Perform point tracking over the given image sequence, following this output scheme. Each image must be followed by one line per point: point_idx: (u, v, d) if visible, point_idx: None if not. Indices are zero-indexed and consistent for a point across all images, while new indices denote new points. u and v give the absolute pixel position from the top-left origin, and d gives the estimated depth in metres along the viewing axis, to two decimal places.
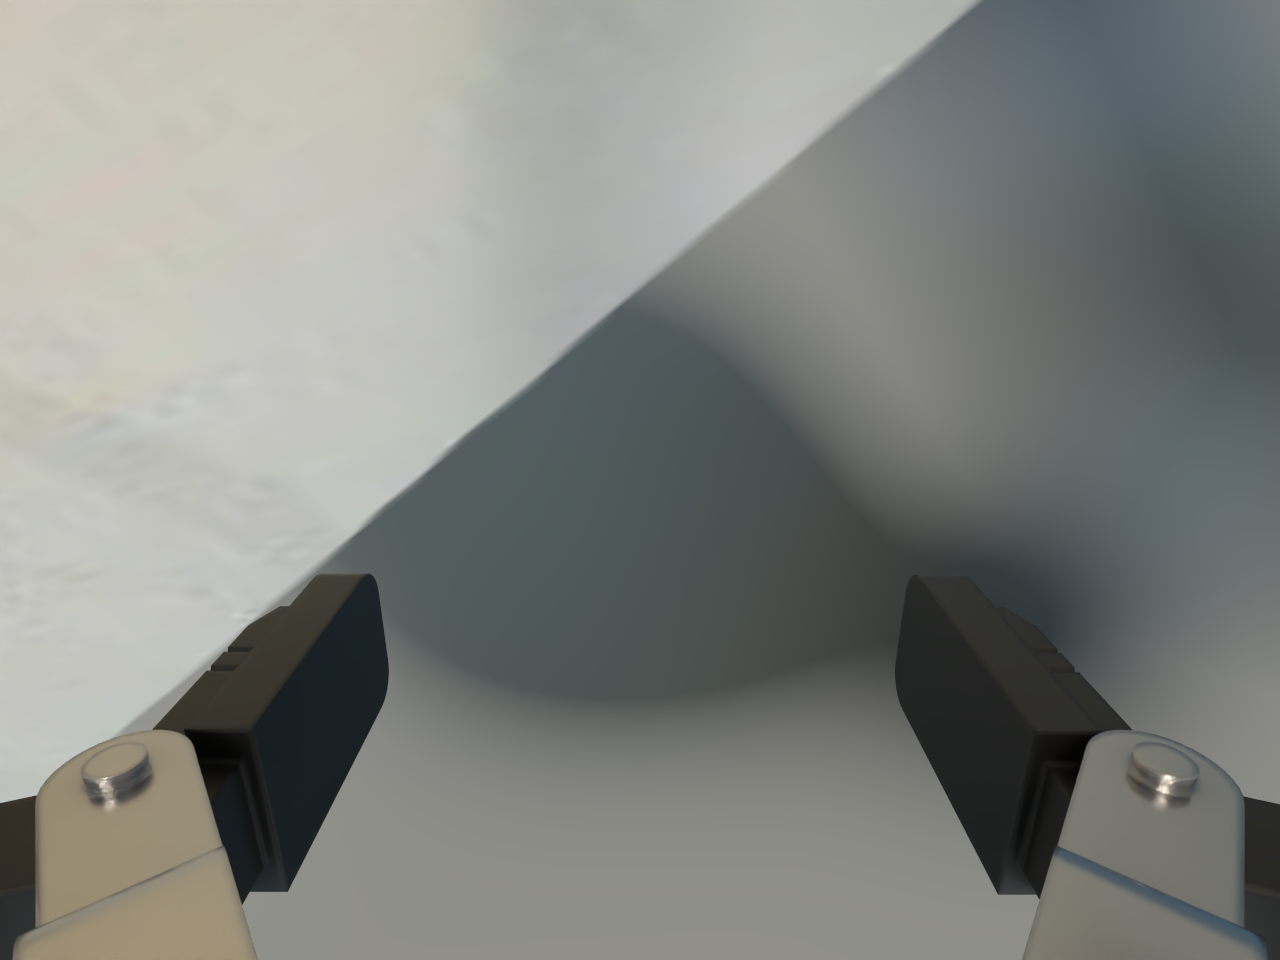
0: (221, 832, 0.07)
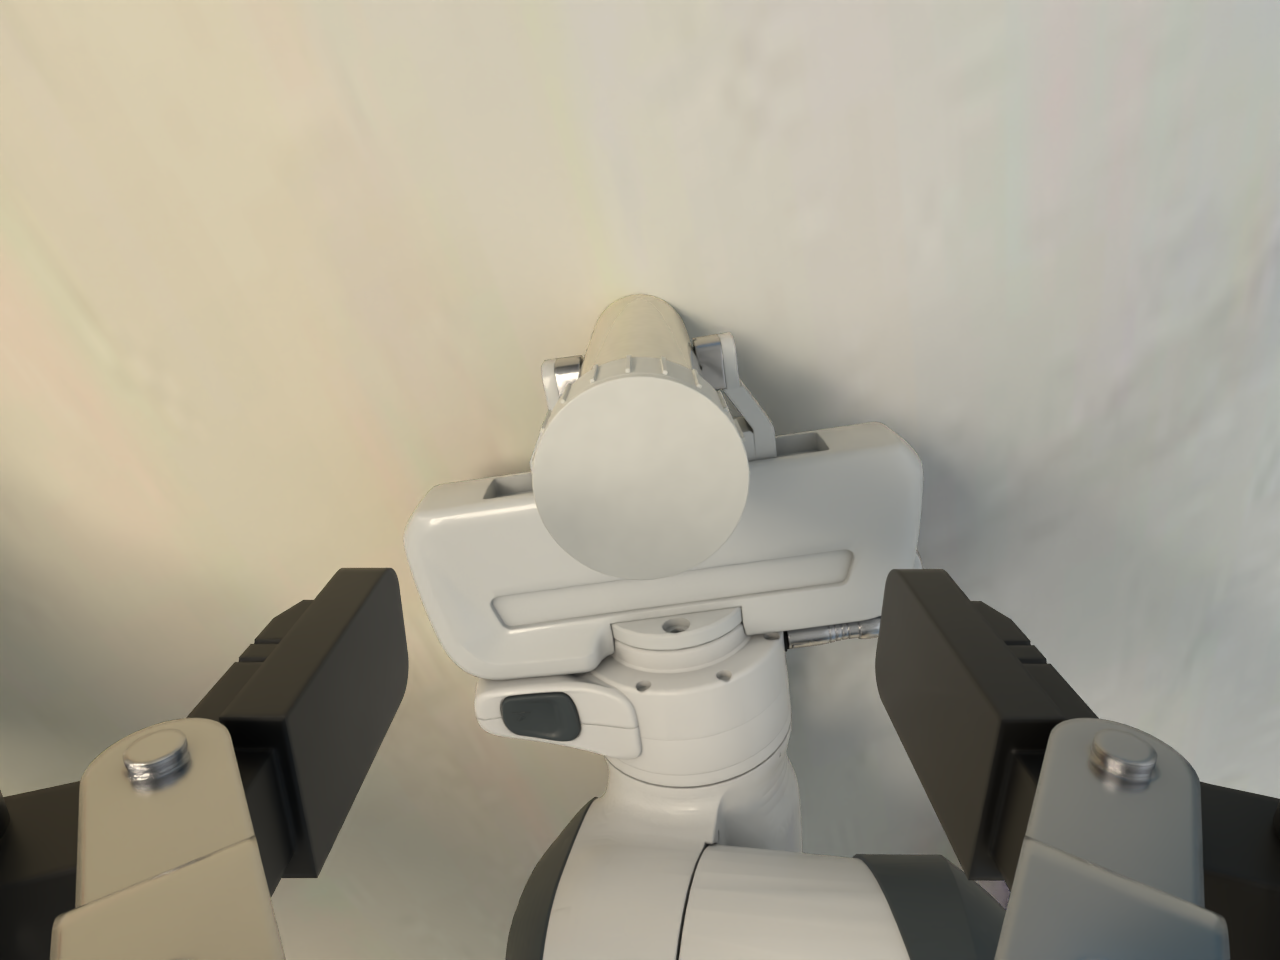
0: (256, 817, 0.07)
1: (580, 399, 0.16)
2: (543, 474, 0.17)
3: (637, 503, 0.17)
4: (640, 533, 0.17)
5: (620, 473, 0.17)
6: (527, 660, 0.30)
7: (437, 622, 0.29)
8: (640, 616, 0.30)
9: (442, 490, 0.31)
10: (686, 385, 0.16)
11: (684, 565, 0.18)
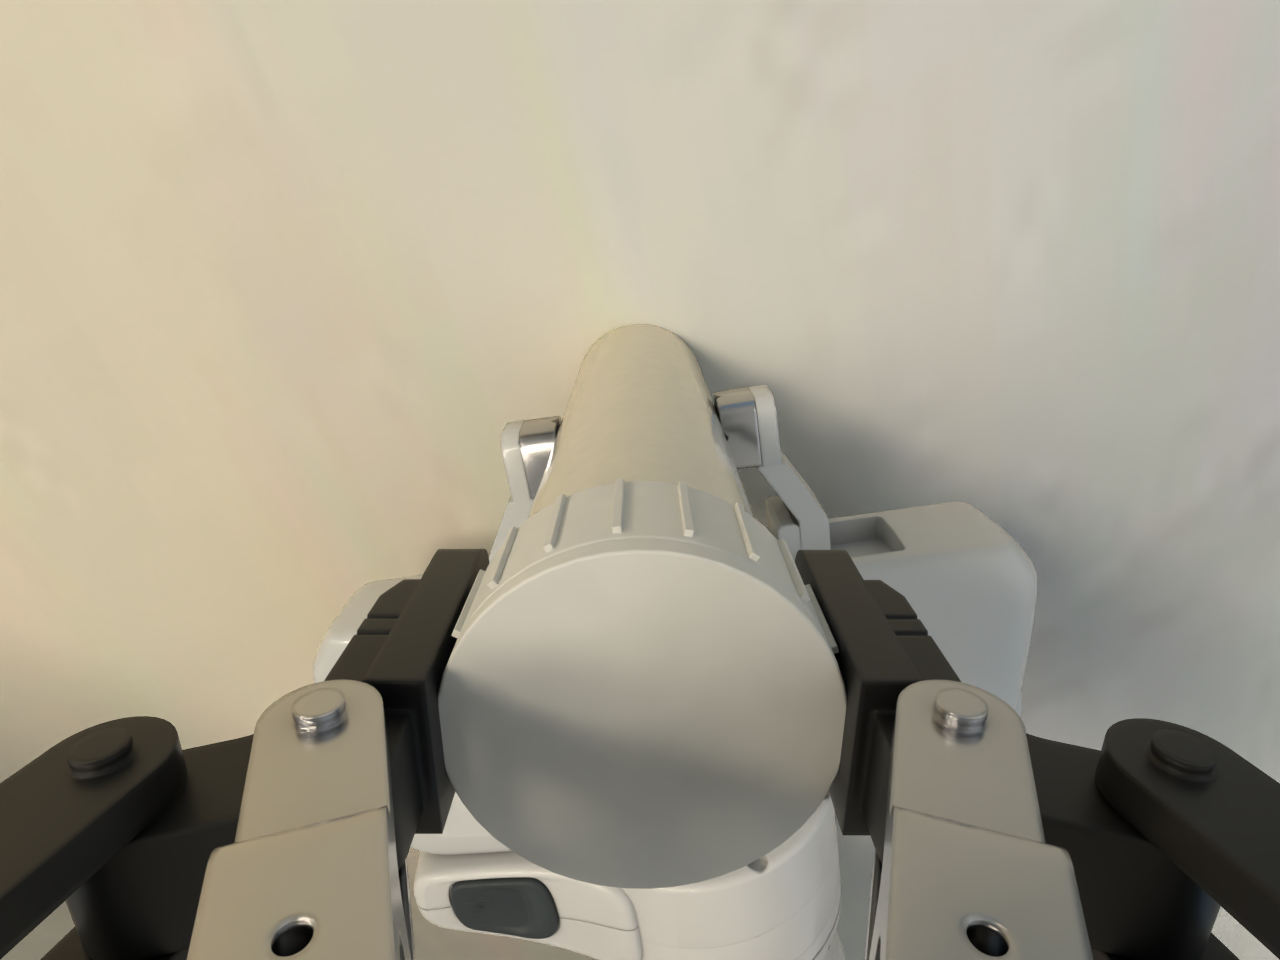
0: (400, 773, 0.08)
1: (523, 593, 0.08)
2: (456, 721, 0.09)
3: (635, 769, 0.09)
4: (641, 817, 0.09)
5: (603, 719, 0.09)
6: (485, 832, 0.22)
7: None
8: None
9: (372, 593, 0.23)
10: (732, 565, 0.08)
11: (721, 865, 0.10)
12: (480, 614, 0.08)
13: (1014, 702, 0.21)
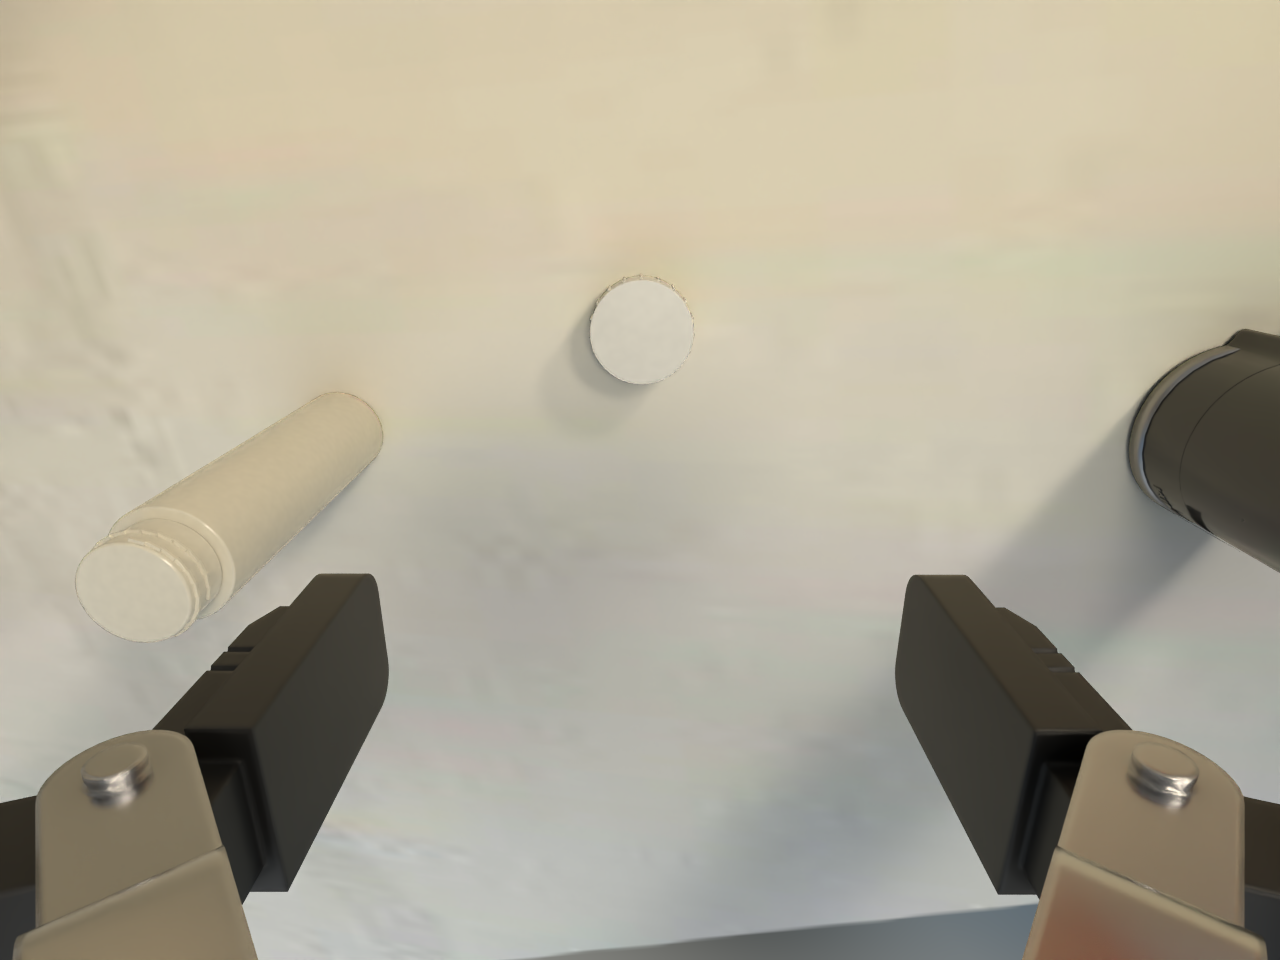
0: (221, 832, 0.07)
1: (650, 283, 0.35)
2: (611, 297, 0.35)
3: (633, 339, 0.36)
4: (623, 352, 0.36)
5: (638, 322, 0.36)
6: None
7: None
8: None
9: None
10: (689, 313, 0.35)
11: (627, 379, 0.37)
12: (638, 280, 0.35)
13: None
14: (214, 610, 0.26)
